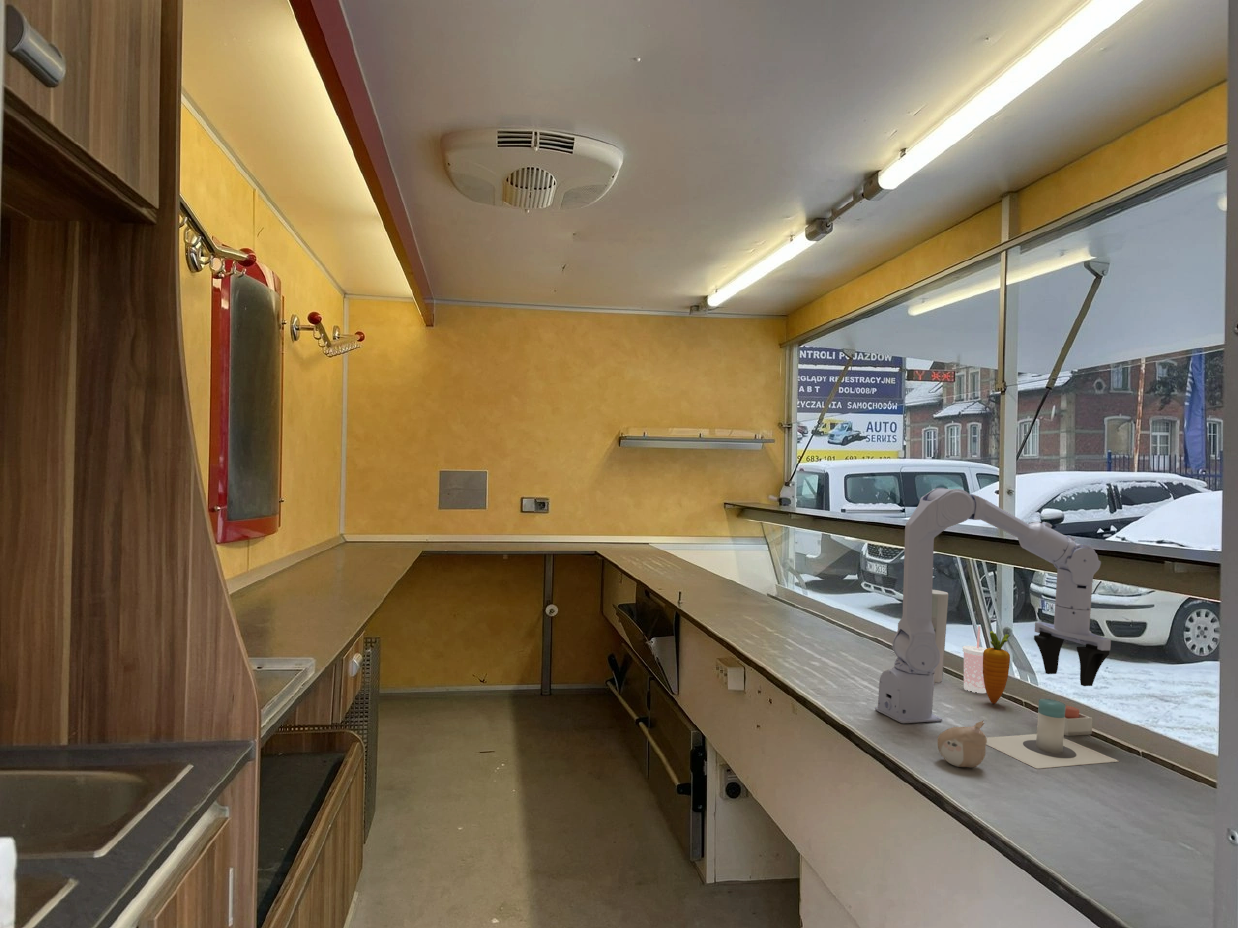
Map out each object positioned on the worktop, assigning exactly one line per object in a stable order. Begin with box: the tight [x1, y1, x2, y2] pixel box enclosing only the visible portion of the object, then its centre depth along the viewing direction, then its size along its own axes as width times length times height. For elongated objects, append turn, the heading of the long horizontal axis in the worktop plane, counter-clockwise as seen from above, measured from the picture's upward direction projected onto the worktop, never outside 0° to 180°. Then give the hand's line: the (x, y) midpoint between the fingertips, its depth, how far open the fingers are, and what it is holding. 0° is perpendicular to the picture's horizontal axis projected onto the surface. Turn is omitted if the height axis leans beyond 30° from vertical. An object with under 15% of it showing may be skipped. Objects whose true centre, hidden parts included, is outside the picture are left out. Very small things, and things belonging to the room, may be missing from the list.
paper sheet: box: [986, 733, 1120, 770], centre depth 128 cm, size 18×13×1 cm
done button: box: [1065, 704, 1080, 719], centre depth 140 cm, size 4×4×2 cm
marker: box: [1036, 698, 1066, 753], centre depth 129 cm, size 4×4×8 cm
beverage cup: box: [962, 625, 988, 694], centre depth 164 cm, size 6×6×14 cm
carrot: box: [983, 630, 1011, 705], centre depth 154 cm, size 5×5×15 cm
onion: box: [937, 720, 987, 769], centre depth 119 cm, size 7×6×8 cm
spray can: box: [932, 589, 949, 684], centre depth 171 cm, size 6×6×20 cm
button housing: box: [1064, 712, 1093, 737], centre depth 140 cm, size 6×6×3 cm
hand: (1068, 679), depth 140 cm, fingers open, 7 cm apart
